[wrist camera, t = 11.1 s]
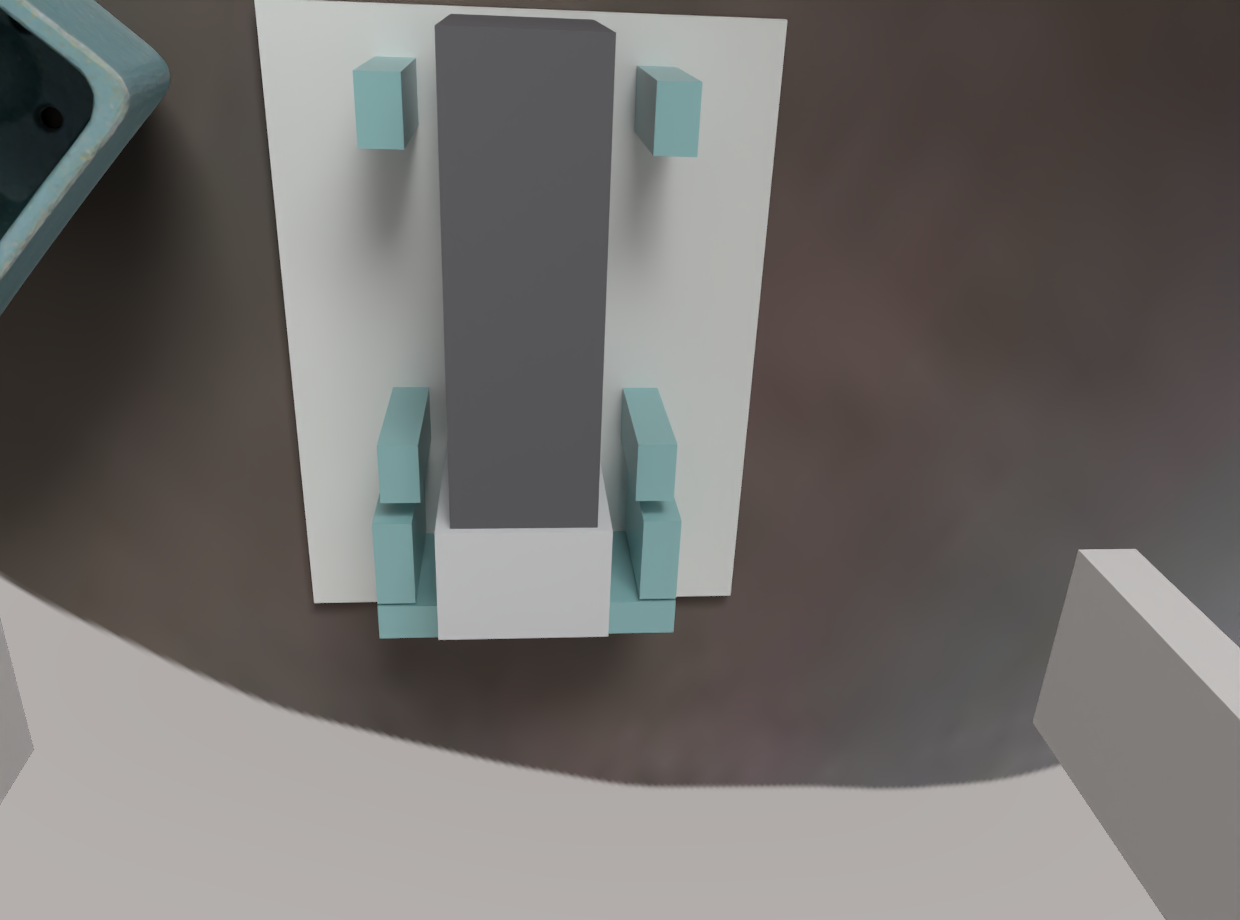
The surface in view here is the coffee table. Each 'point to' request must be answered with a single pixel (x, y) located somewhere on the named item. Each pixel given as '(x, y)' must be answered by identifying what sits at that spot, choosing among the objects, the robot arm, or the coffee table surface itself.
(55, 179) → the flower pot
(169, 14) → the coffee table surface
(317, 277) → the board
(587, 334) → the bar
